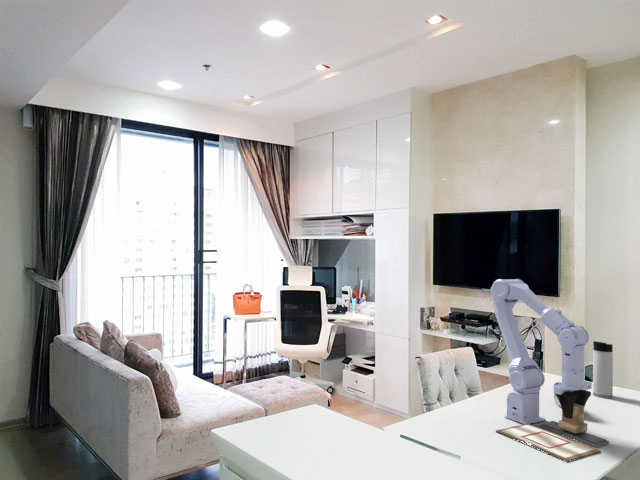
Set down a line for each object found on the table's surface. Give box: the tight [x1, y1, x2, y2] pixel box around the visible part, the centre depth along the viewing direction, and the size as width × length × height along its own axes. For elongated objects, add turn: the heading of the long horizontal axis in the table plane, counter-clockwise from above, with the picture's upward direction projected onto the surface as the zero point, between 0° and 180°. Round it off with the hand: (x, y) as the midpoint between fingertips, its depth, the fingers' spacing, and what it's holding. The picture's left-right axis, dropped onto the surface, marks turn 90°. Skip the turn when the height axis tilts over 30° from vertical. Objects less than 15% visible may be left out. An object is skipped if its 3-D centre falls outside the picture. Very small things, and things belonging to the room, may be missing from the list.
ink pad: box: [539, 420, 610, 449], centre depth 136 cm, size 6×17×1 cm, turn 28°
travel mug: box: [592, 340, 614, 399], centre depth 176 cm, size 6×7×20 cm
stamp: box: [558, 403, 588, 434], centre depth 136 cm, size 5×5×7 cm
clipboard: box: [495, 424, 602, 462], centre depth 131 cm, size 14×22×1 cm, turn 28°
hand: (572, 416), depth 136 cm, fingers closed on stamp, 4 cm apart
